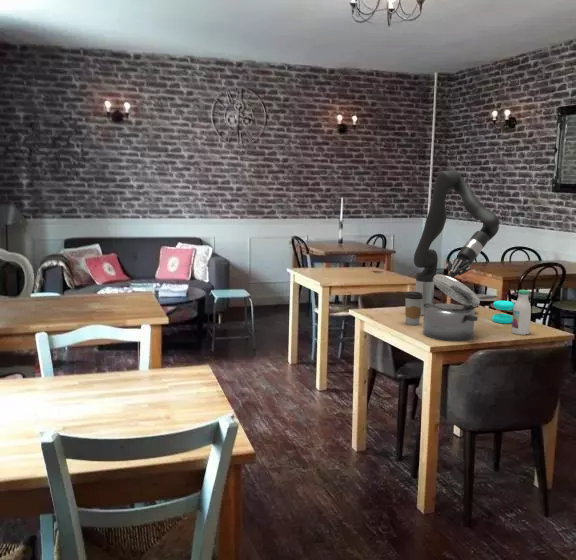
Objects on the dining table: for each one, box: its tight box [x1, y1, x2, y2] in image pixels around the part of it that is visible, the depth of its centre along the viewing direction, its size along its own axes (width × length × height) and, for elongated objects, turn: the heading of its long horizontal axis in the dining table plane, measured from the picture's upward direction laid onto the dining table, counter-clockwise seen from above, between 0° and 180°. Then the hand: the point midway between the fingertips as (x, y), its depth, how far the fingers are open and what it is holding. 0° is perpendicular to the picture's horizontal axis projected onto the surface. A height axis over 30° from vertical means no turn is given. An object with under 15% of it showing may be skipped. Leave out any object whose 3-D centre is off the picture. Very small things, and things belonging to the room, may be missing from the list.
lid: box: [433, 273, 481, 308], centre depth 291 cm, size 23×24×3 cm
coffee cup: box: [404, 291, 423, 326], centre depth 310 cm, size 8×8×15 cm
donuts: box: [491, 300, 515, 325], centre depth 320 cm, size 10×10×10 cm
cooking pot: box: [422, 303, 479, 342], centre depth 291 cm, size 31×22×12 cm
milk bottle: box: [511, 289, 532, 336], centre depth 297 cm, size 8×8×20 cm
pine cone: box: [450, 297, 479, 310], centre depth 341 cm, size 18×10×10 cm, turn 34°
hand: (448, 280), depth 287 cm, fingers closed
